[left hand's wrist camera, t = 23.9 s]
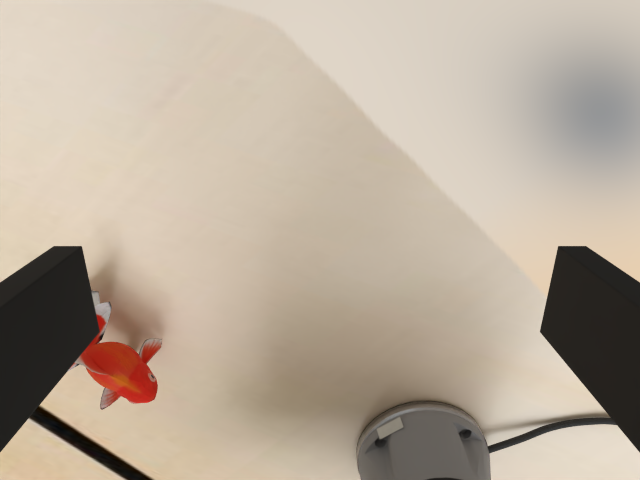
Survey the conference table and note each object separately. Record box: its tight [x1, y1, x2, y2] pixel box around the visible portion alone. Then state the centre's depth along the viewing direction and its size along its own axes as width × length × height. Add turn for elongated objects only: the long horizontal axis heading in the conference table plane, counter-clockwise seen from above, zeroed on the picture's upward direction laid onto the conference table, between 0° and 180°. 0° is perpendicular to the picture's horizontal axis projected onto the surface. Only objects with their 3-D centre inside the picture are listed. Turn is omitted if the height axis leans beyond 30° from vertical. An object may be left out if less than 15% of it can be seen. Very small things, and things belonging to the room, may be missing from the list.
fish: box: [68, 291, 162, 409], centre depth 43 cm, size 11×16×10 cm
